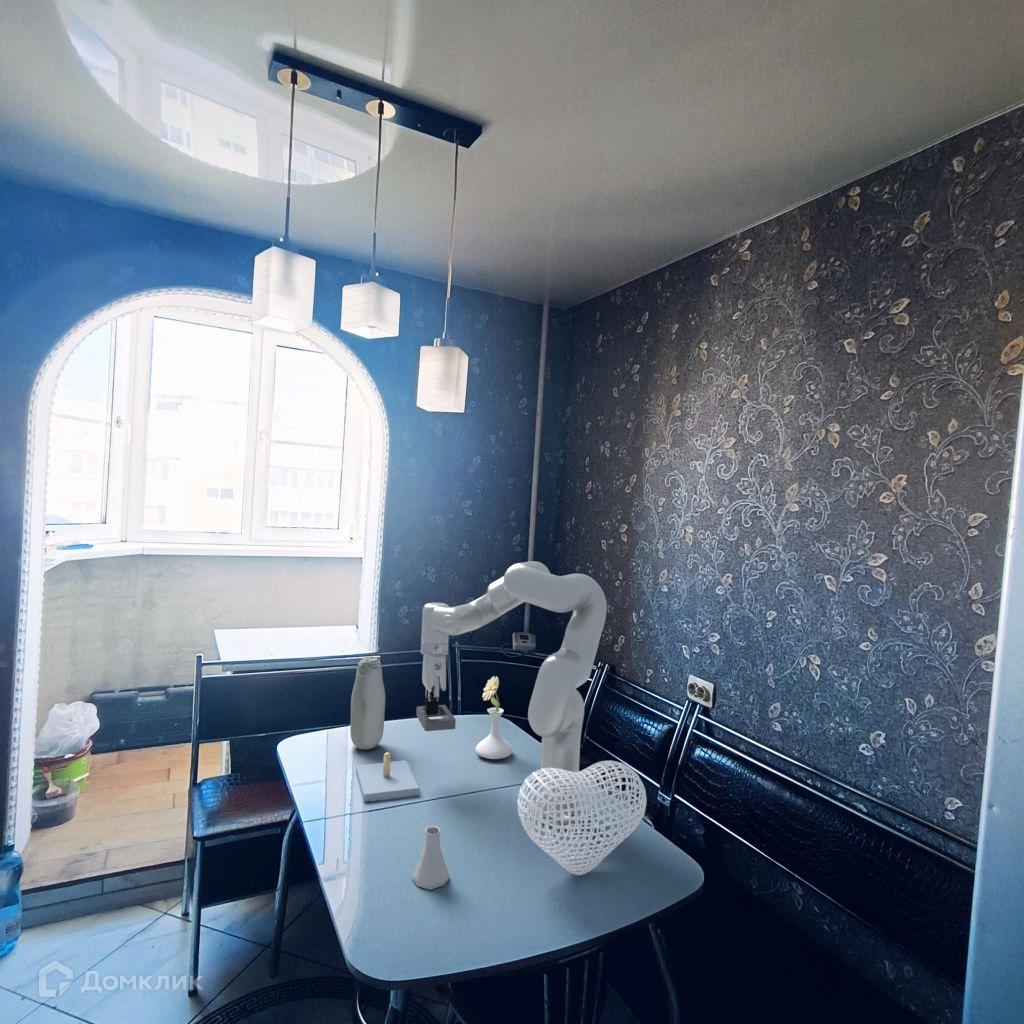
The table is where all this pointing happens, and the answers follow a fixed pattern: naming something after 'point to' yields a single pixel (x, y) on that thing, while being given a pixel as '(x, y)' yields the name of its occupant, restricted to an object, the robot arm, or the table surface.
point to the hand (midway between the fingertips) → (431, 713)
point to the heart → (581, 777)
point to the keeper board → (386, 780)
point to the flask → (431, 862)
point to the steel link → (436, 724)
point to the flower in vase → (493, 727)
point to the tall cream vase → (367, 704)
